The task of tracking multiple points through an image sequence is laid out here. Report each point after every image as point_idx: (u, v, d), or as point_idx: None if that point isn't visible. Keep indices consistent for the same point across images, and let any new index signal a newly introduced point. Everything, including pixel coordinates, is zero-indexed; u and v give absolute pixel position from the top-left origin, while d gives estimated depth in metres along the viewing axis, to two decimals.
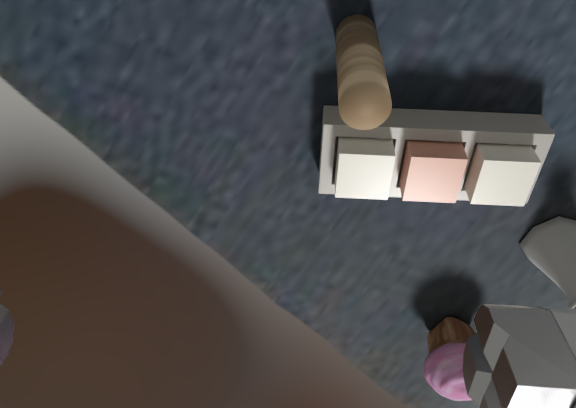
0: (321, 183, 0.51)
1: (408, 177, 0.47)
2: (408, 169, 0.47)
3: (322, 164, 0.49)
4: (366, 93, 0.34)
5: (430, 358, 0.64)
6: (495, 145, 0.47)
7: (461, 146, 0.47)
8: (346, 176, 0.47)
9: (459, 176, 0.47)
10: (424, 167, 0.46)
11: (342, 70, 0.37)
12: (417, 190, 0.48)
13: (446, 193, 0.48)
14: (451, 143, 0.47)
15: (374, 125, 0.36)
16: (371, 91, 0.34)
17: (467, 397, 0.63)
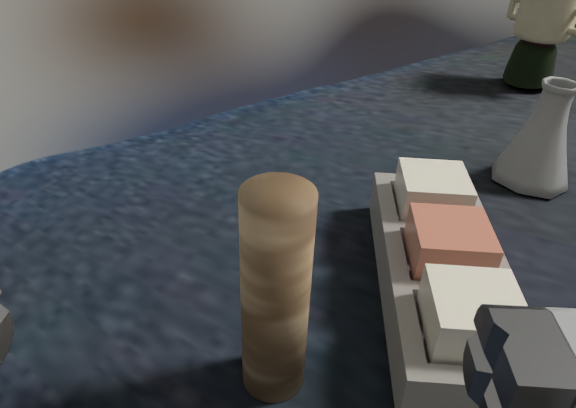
0: None
1: (458, 249, 0.31)
2: (445, 252, 0.31)
3: None
4: (255, 191, 0.23)
5: None
6: (399, 207, 0.39)
7: (405, 227, 0.36)
8: None
9: (438, 206, 0.35)
10: (434, 235, 0.32)
11: (253, 273, 0.24)
12: (478, 239, 0.32)
13: (470, 214, 0.34)
14: (405, 239, 0.36)
15: (309, 185, 0.24)
16: (252, 187, 0.23)
17: None
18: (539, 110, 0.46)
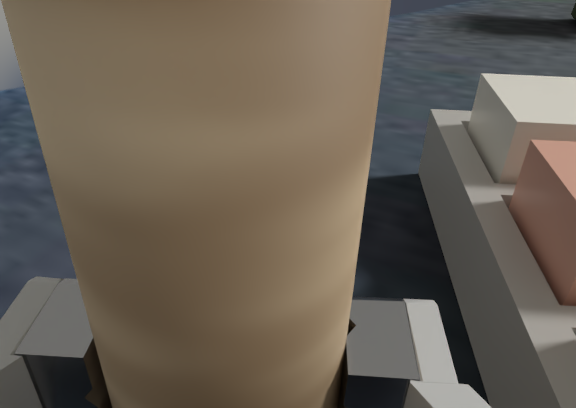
0: None
1: None
2: None
3: None
4: None
5: None
6: (487, 161, 0.21)
7: (514, 194, 0.18)
8: None
9: None
10: None
11: (108, 315, 0.05)
12: None
13: None
14: (518, 218, 0.18)
15: None
16: None
17: None
18: None
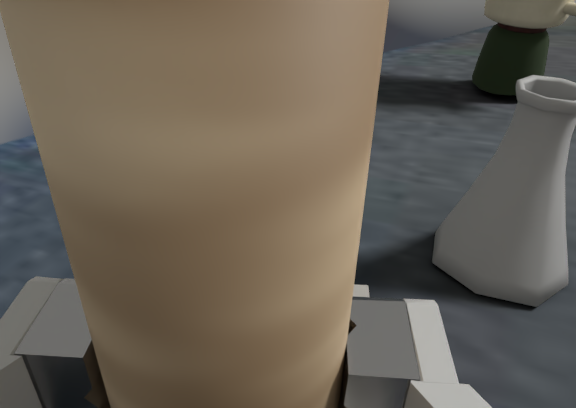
0: None
1: None
2: None
3: None
4: None
5: None
6: None
7: None
8: None
9: None
10: None
11: (106, 319, 0.05)
12: None
13: None
14: None
15: None
16: None
17: None
18: (512, 141, 0.24)
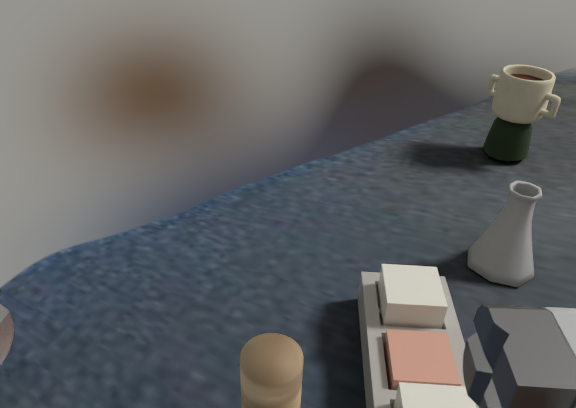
0: None
1: (423, 380, 0.38)
2: (413, 382, 0.38)
3: None
4: (253, 356, 0.29)
5: None
6: (381, 310, 0.45)
7: (383, 347, 0.43)
8: None
9: (410, 333, 0.42)
10: (405, 365, 0.39)
11: None
12: (441, 370, 0.39)
13: (436, 342, 0.41)
14: None
15: (296, 347, 0.30)
16: (251, 352, 0.29)
17: None
18: (506, 211, 0.52)
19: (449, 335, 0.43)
